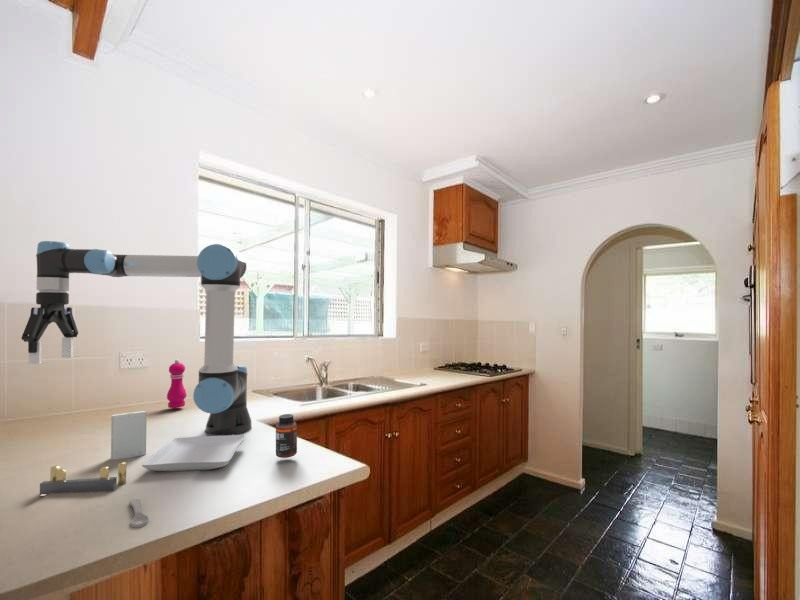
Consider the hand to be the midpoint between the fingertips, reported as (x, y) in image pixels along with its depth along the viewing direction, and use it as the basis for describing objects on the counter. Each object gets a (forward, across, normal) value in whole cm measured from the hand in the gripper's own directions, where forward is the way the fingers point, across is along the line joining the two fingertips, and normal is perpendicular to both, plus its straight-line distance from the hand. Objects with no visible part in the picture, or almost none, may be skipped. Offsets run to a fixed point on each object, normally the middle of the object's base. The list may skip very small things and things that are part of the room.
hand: (51, 360), depth 119 cm
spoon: (+27, +48, +46) cm, 72 cm away
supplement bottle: (+26, +19, +72) cm, 79 cm away
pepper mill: (+26, -43, +19) cm, 54 cm away
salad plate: (+27, +18, +48) cm, 58 cm away
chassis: (+26, +33, +28) cm, 51 cm away
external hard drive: (+26, +14, +28) cm, 41 cm away
